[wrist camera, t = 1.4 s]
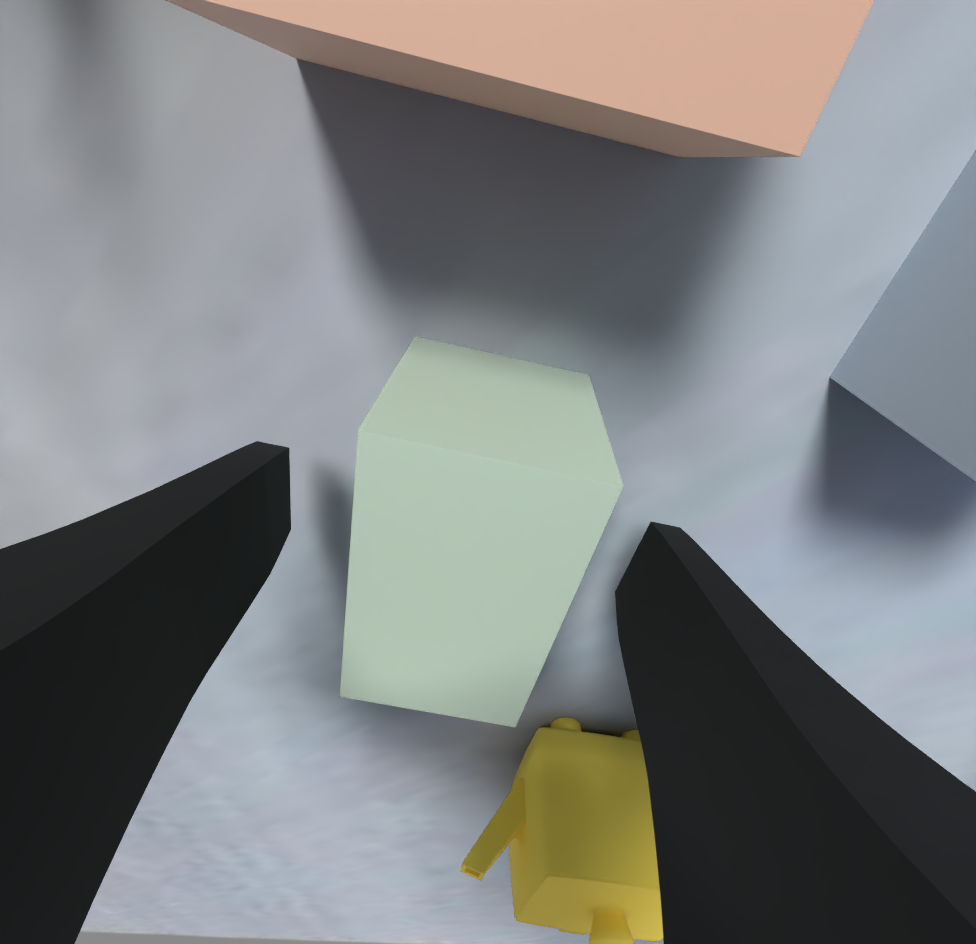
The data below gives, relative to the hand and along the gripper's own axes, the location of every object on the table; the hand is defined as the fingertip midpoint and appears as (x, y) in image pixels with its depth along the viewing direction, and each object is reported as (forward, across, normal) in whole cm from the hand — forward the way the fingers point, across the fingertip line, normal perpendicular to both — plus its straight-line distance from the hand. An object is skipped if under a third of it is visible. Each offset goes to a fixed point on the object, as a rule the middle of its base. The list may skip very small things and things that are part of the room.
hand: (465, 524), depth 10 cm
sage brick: (+2, 0, 0) cm, 2 cm away
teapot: (+2, -6, +11) cm, 13 cm away
